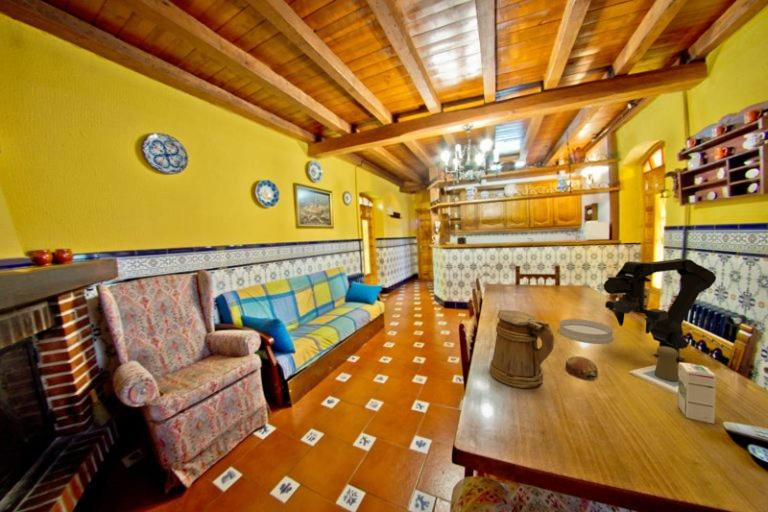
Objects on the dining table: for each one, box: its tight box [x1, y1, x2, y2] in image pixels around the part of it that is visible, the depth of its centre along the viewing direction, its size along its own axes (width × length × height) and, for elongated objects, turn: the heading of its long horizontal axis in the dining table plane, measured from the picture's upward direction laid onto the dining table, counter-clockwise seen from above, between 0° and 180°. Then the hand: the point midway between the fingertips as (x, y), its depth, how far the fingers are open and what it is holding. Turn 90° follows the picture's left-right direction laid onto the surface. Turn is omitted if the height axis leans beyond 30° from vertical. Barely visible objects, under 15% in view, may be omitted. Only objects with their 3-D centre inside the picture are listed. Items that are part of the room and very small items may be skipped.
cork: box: [654, 346, 679, 382], centre depth 92 cm, size 6×6×11 cm
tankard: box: [489, 309, 555, 389], centre depth 98 cm, size 18×24×25 cm
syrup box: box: [677, 361, 717, 425], centre depth 75 cm, size 6×6×14 cm
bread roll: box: [565, 355, 599, 380], centre depth 100 cm, size 10×10×8 cm
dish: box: [558, 318, 614, 345], centre depth 134 cm, size 22×22×5 cm
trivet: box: [628, 364, 679, 396], centre depth 93 cm, size 14×14×1 cm
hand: (633, 329), depth 107 cm, fingers open, 9 cm apart
